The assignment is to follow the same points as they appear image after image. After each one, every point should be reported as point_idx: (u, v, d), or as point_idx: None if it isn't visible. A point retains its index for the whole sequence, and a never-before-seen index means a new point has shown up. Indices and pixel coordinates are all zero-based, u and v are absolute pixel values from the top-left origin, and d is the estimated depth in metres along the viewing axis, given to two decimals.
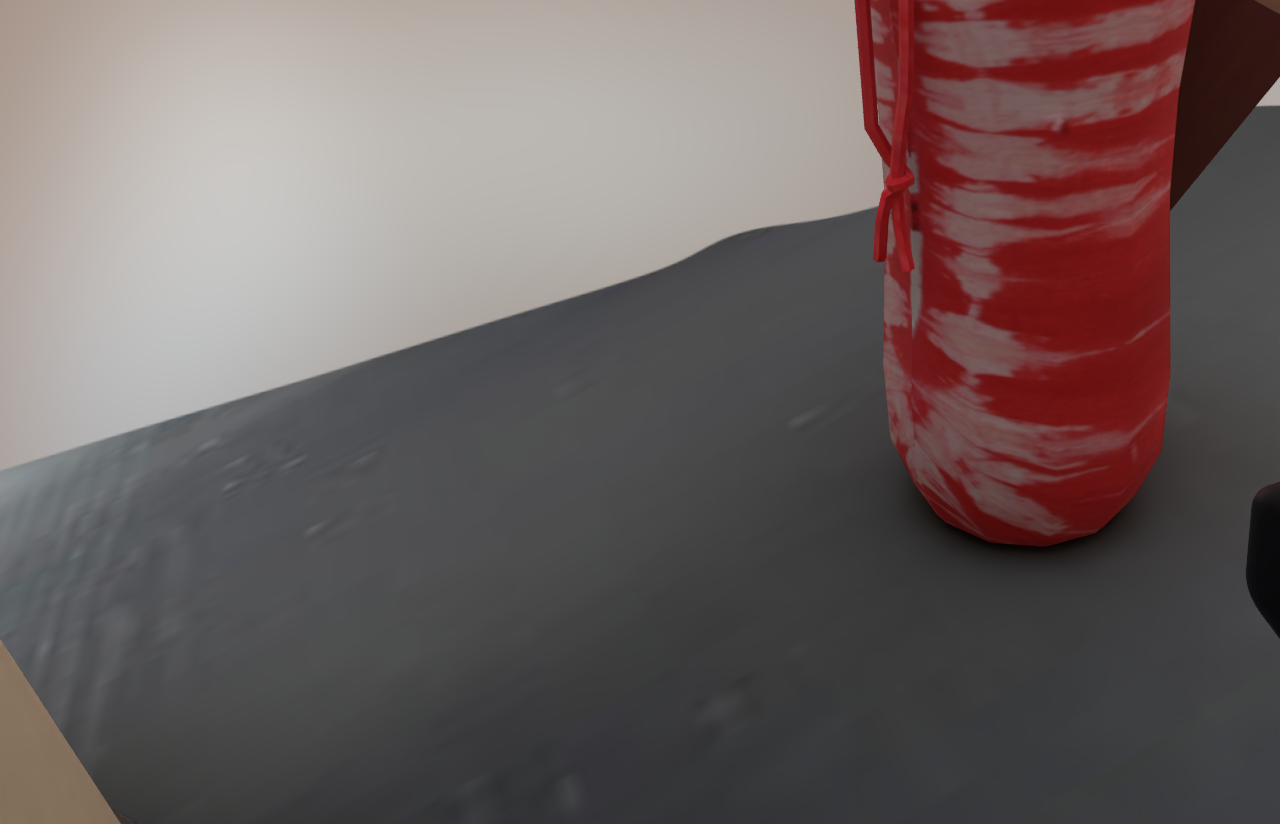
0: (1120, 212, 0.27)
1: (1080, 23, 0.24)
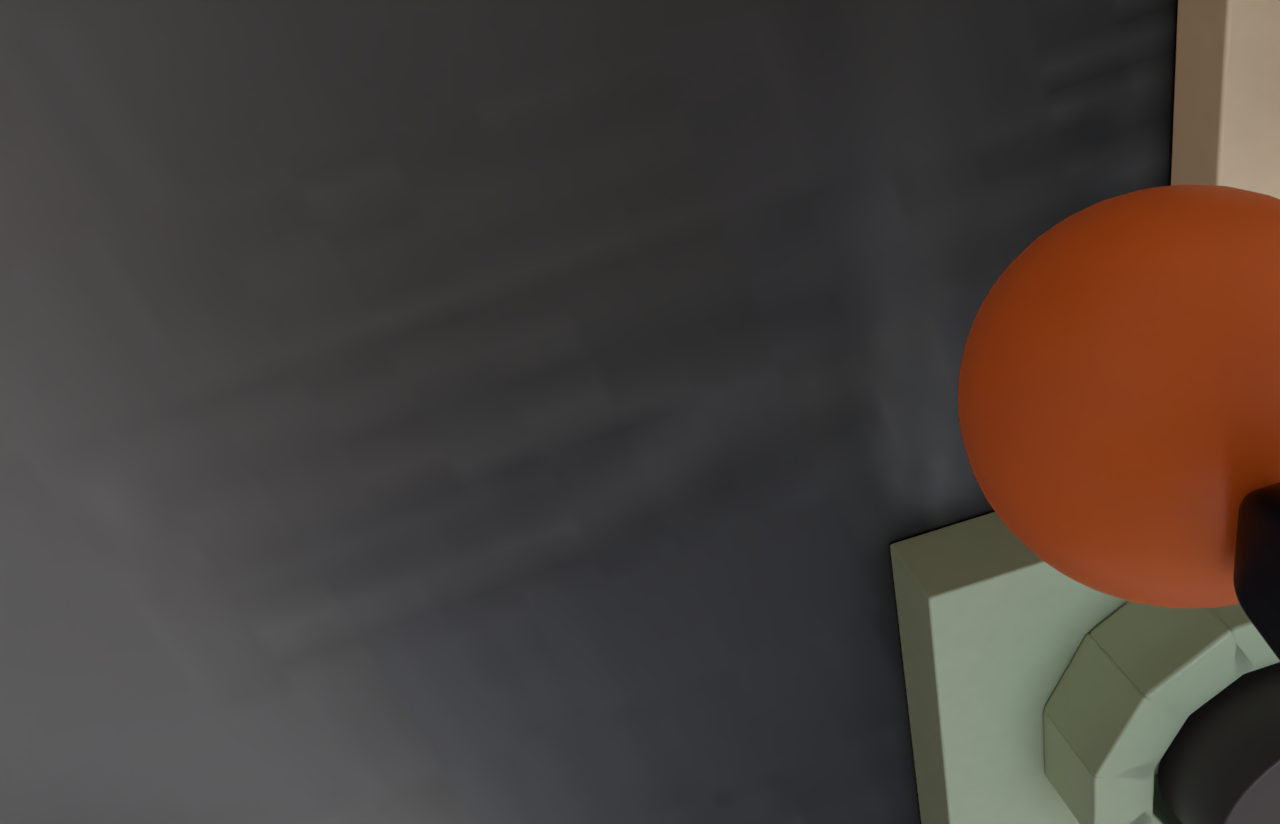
0: None
1: None
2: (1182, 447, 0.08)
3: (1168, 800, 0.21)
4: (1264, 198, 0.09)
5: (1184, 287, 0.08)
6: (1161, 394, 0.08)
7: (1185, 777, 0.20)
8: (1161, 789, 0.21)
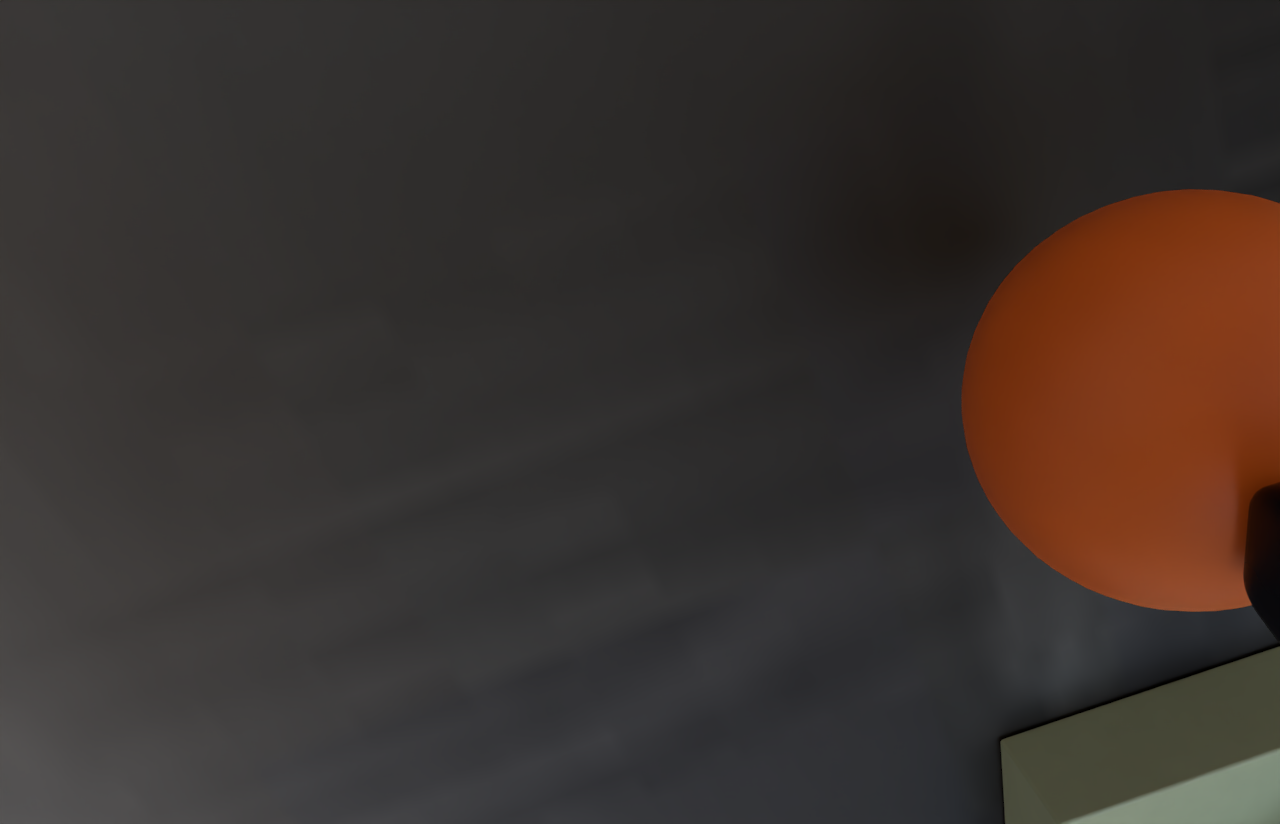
0: None
1: None
2: (1070, 433, 0.09)
3: None
4: None
5: (1122, 286, 0.09)
6: (1064, 380, 0.09)
7: None
8: None
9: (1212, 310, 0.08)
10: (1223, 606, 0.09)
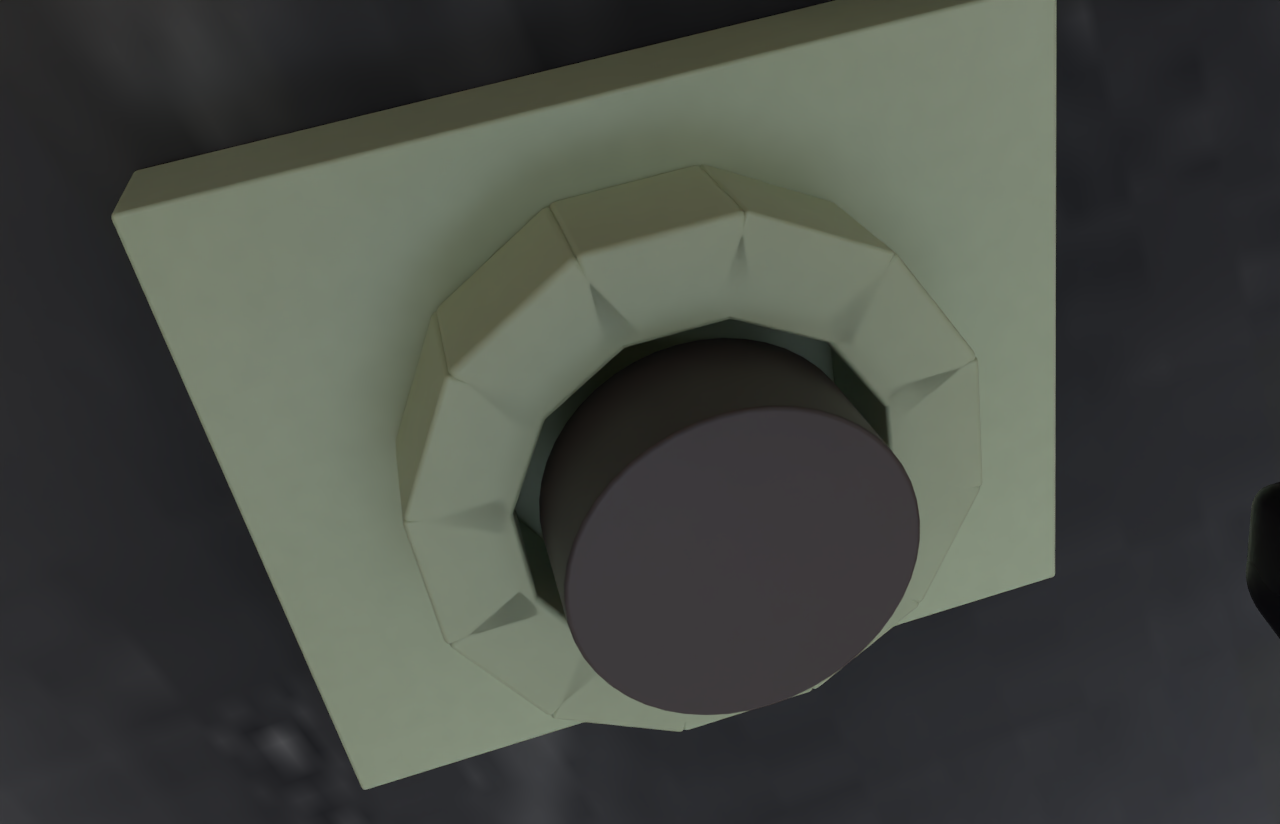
0: None
1: None
2: None
3: None
4: None
5: None
6: None
7: (549, 523, 0.13)
8: None
9: None
10: None
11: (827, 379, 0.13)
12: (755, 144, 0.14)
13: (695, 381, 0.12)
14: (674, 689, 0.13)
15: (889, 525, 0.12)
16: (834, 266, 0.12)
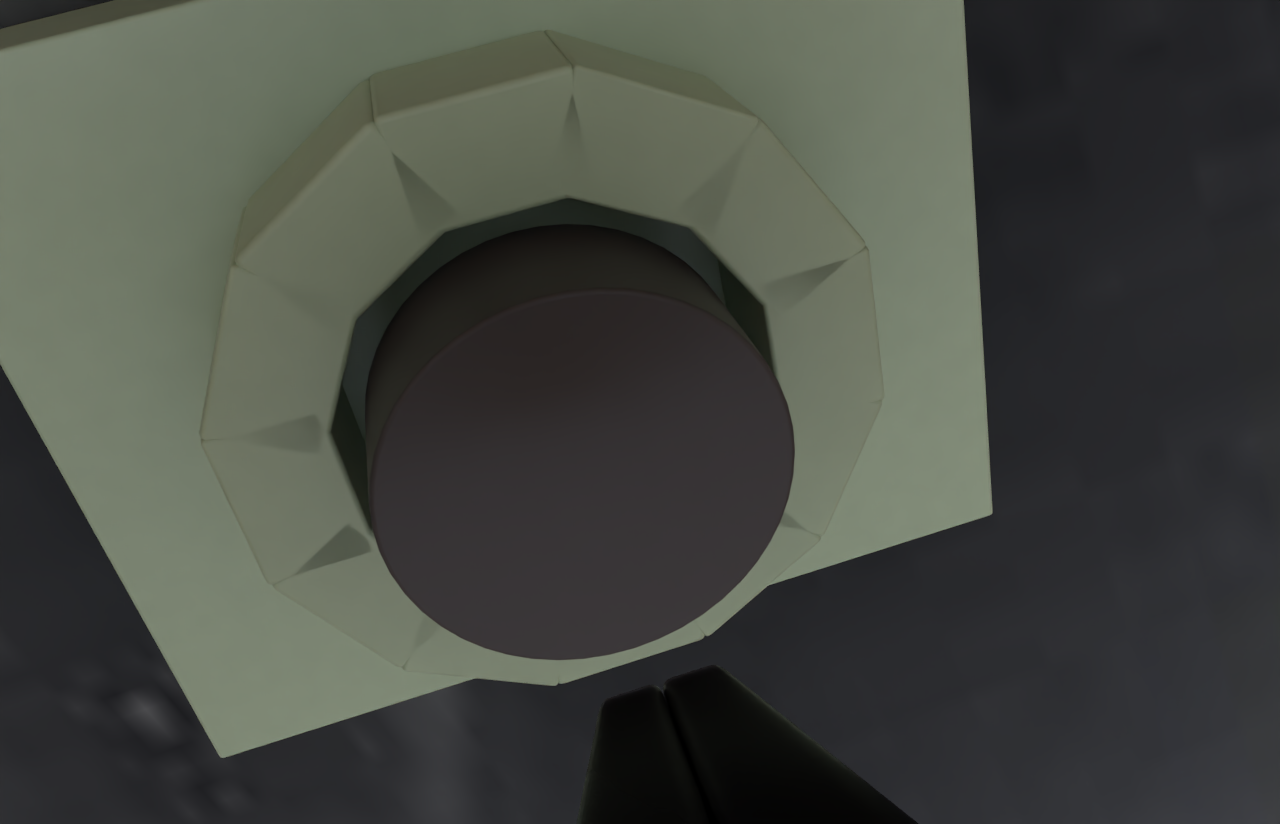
0: None
1: None
2: None
3: None
4: None
5: None
6: None
7: None
8: None
9: None
10: None
11: (688, 270, 0.11)
12: (607, 5, 0.12)
13: (520, 266, 0.10)
14: (515, 630, 0.11)
15: (755, 435, 0.11)
16: (687, 134, 0.11)
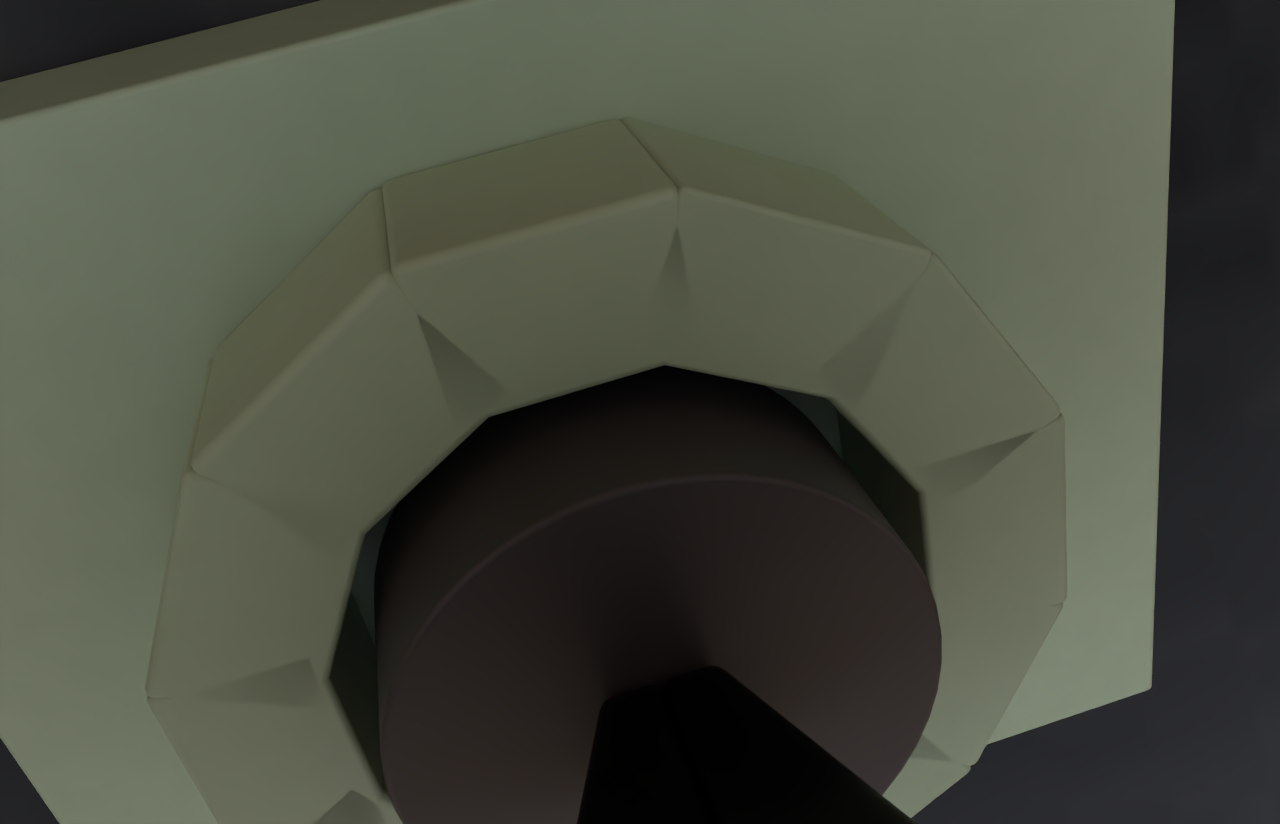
0: None
1: None
2: None
3: None
4: None
5: None
6: None
7: None
8: None
9: None
10: None
11: (798, 418, 0.09)
12: (706, 83, 0.09)
13: (584, 430, 0.08)
14: None
15: (893, 645, 0.08)
16: (833, 277, 0.08)
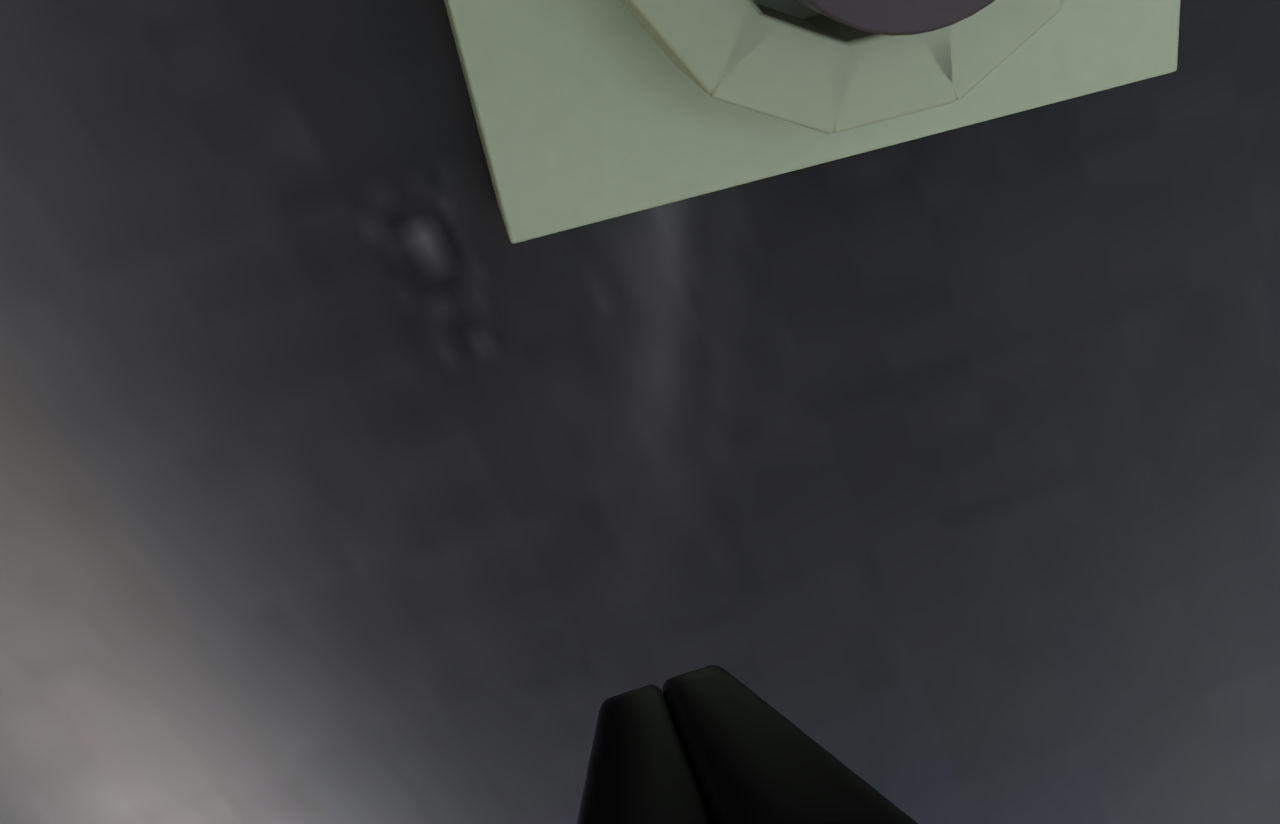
0: None
1: None
2: None
3: None
4: None
5: None
6: None
7: None
8: None
9: None
10: None
11: None
12: None
13: None
14: None
15: None
16: None
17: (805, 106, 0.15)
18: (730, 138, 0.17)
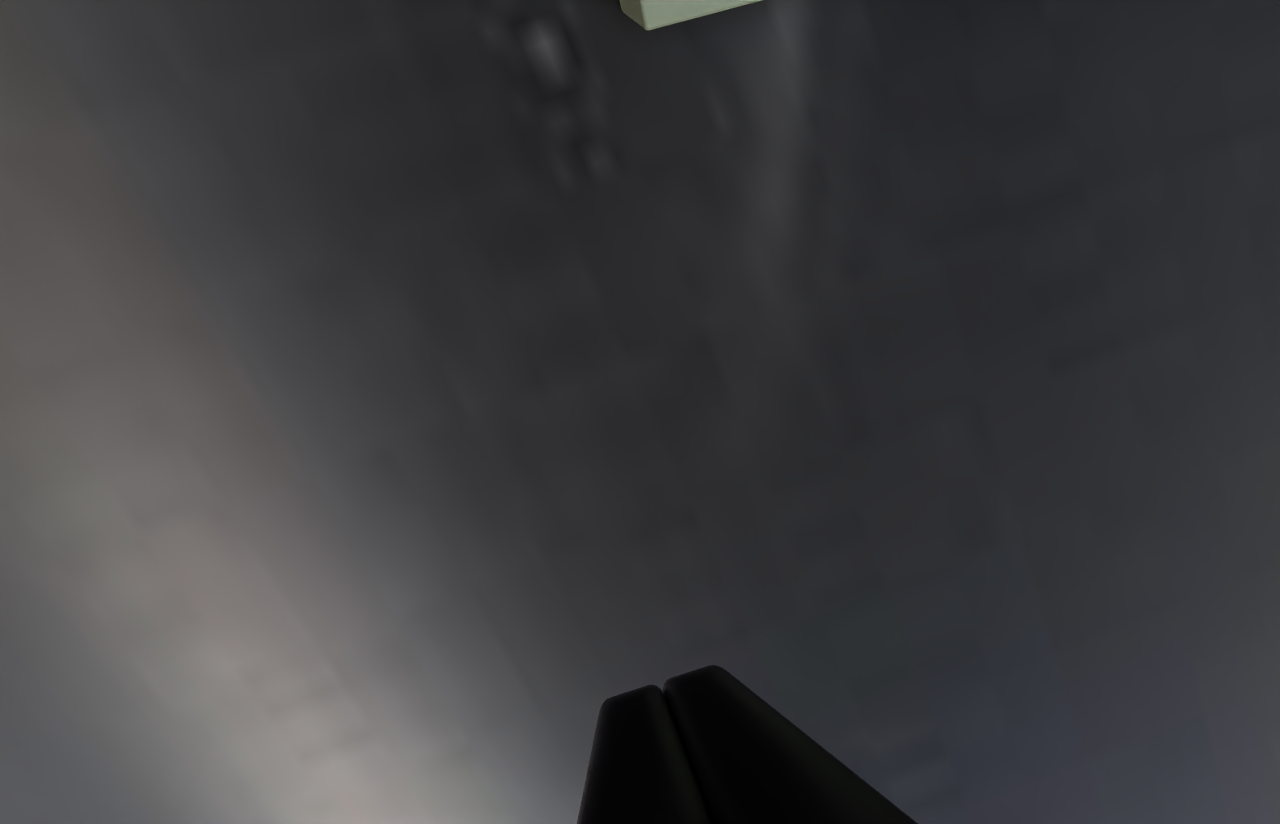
0: None
1: None
2: None
3: None
4: None
5: None
6: None
7: None
8: None
9: None
10: None
11: None
12: None
13: None
14: None
15: None
16: None
17: None
18: None
